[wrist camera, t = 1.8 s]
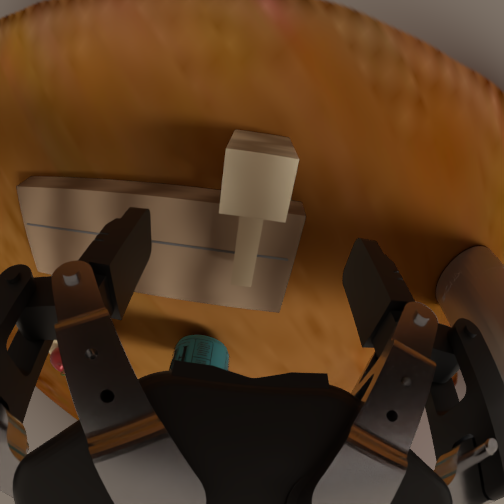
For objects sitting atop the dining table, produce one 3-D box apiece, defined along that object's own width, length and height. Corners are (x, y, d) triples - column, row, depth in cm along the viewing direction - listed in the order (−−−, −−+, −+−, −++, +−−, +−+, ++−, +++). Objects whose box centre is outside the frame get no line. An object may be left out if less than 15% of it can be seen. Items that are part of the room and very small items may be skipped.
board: (301, 202, 23) (306, 216, 21) (278, 294, 29) (279, 312, 26) (31, 176, 22) (16, 186, 19) (49, 258, 27) (37, 271, 25)
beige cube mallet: (289, 137, 20) (299, 159, 15) (266, 249, 26) (267, 296, 21) (235, 129, 20) (225, 148, 15) (221, 243, 25) (212, 288, 21)
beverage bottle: (190, 314, 31) (152, 498, 14) (242, 337, 33) (231, 512, 16) (170, 343, 34) (134, 497, 17) (217, 362, 36) (200, 511, 19)
